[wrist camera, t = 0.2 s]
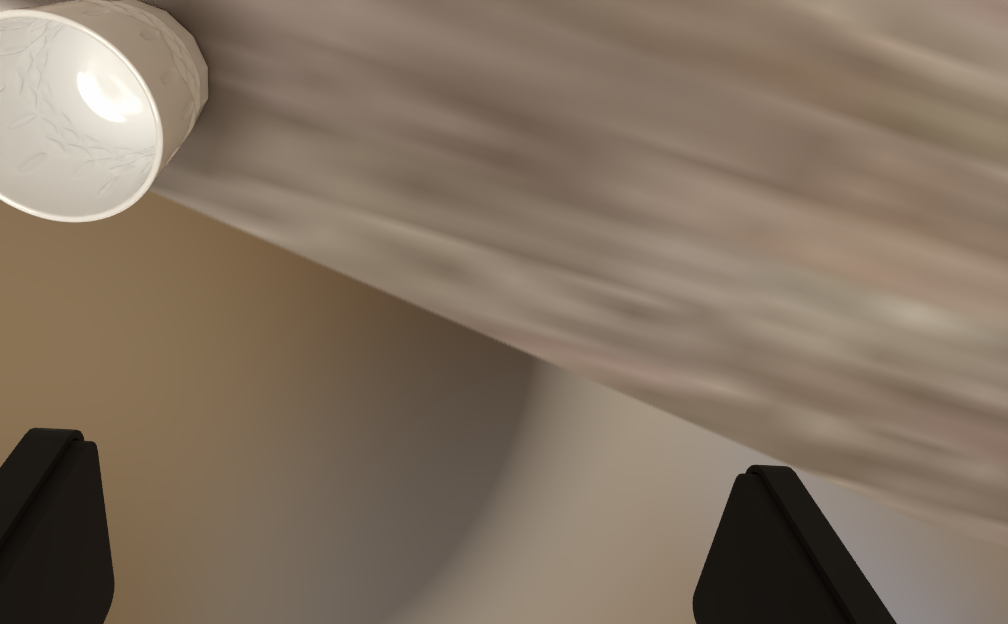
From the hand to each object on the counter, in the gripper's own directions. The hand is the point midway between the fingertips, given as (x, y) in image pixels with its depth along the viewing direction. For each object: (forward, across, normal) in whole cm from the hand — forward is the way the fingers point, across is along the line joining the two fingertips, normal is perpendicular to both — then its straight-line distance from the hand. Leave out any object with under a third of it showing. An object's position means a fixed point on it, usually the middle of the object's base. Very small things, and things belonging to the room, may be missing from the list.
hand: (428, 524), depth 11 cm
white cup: (+31, +14, +1) cm, 34 cm away
